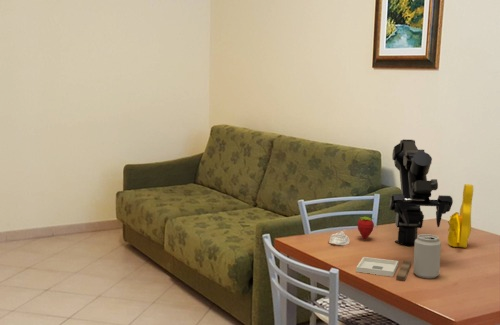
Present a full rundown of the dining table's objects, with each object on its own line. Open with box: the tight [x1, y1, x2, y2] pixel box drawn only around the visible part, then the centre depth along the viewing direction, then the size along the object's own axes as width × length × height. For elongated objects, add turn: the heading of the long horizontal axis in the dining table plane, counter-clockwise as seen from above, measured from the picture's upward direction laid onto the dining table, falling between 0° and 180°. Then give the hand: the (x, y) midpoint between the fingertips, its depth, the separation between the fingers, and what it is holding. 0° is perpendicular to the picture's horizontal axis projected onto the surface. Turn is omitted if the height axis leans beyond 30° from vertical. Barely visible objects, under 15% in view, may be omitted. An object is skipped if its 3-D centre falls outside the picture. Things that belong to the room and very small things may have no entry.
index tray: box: [355, 256, 399, 278], centre depth 179 cm, size 11×11×2 cm
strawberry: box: [356, 216, 375, 240], centre depth 211 cm, size 6×8×10 cm
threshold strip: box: [395, 260, 412, 282], centre depth 176 cm, size 16×2×1 cm, turn 158°
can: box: [412, 233, 442, 279], centre depth 173 cm, size 8×8×12 cm
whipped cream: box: [328, 230, 351, 246], centre depth 206 cm, size 8×7×5 cm
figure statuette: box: [447, 184, 474, 249], centre depth 203 cm, size 18×8×22 cm, turn 170°
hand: (423, 226), depth 179 cm, fingers open, 9 cm apart
